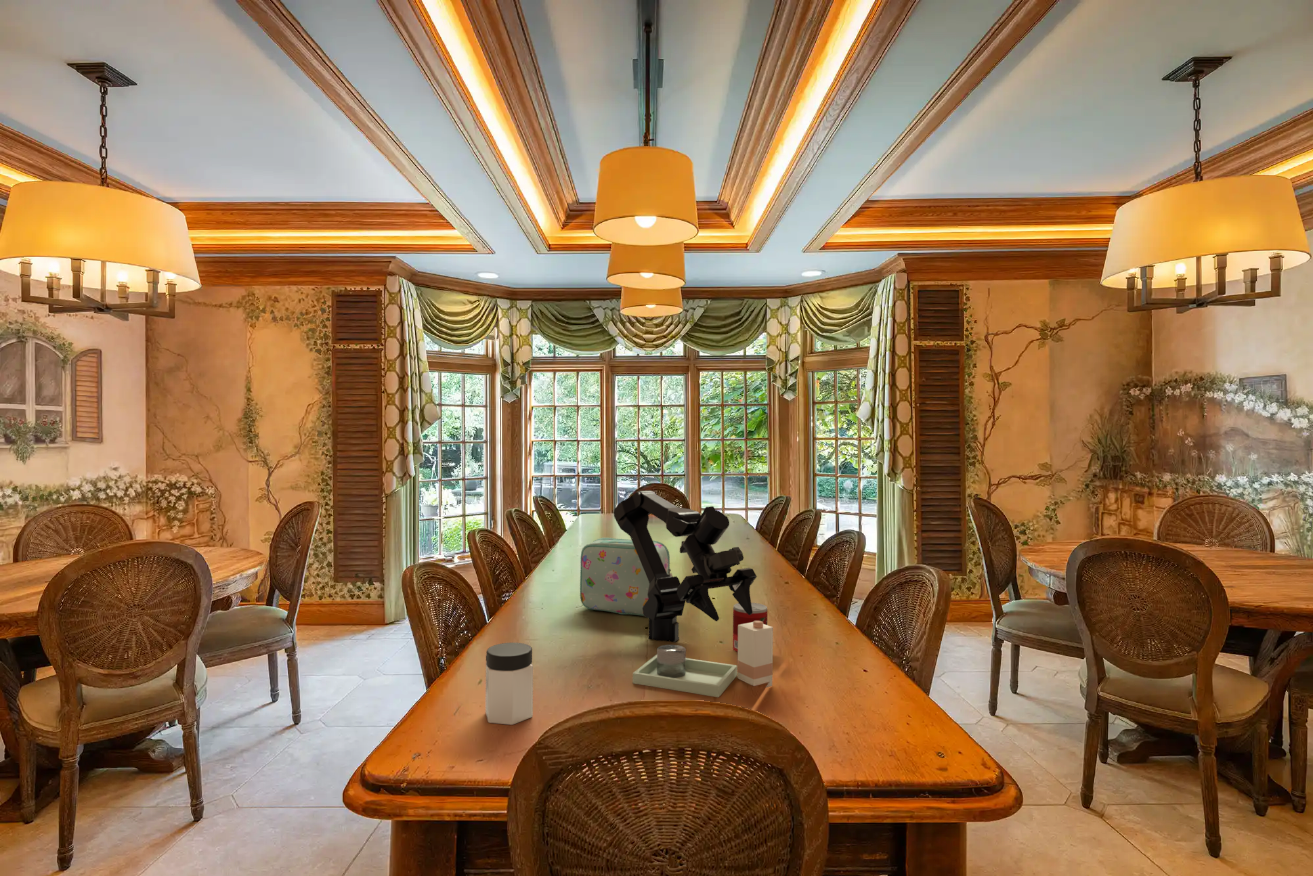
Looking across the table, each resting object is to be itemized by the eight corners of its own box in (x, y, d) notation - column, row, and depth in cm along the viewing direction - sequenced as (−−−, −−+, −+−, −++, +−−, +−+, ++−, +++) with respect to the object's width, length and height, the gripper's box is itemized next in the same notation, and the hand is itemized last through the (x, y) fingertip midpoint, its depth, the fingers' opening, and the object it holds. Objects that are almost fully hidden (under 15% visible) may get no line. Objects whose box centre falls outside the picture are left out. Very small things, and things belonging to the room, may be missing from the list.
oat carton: (737, 683, 140) (737, 620, 140) (755, 678, 143) (756, 616, 143) (753, 690, 136) (754, 626, 136) (772, 686, 139) (773, 622, 139)
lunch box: (676, 611, 196) (677, 537, 196) (665, 620, 186) (665, 542, 186) (591, 602, 205) (592, 531, 205) (576, 611, 195) (577, 536, 195)
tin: (652, 675, 141) (652, 651, 141) (663, 666, 147) (663, 643, 147) (679, 679, 139) (679, 655, 139) (689, 670, 144) (689, 647, 144)
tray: (632, 688, 137) (632, 673, 137) (657, 667, 149) (657, 653, 149) (718, 702, 130) (718, 686, 130) (737, 679, 142) (737, 665, 142)
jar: (514, 702, 129) (515, 638, 129) (542, 713, 124) (543, 647, 124) (474, 716, 122) (474, 650, 122) (502, 729, 117) (503, 660, 117)
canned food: (766, 659, 155) (766, 611, 155) (731, 657, 156) (731, 609, 156) (767, 649, 162) (768, 603, 162) (734, 646, 164) (734, 601, 164)
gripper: (684, 538, 144) (717, 601, 135) (751, 532, 154) (785, 590, 145) (663, 569, 151) (693, 631, 141) (729, 561, 161) (760, 618, 152)
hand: (734, 617), depth 145 cm, fingers open, 9 cm apart
